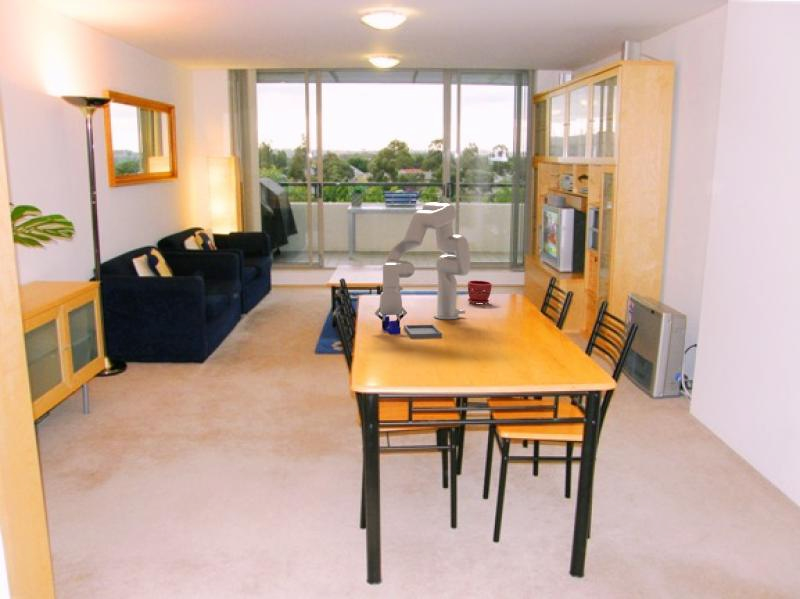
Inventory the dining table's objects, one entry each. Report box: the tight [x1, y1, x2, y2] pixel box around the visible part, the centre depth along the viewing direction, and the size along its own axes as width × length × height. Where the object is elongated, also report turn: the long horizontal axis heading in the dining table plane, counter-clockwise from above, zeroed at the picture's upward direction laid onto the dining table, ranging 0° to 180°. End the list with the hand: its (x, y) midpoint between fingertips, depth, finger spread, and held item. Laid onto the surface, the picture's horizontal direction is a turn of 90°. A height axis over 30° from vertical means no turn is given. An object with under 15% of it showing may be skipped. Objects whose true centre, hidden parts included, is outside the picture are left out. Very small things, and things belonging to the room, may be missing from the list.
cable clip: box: [381, 315, 402, 336], centre depth 329 cm, size 12×4×6 cm, turn 21°
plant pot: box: [467, 280, 492, 304], centre depth 402 cm, size 13×13×12 cm
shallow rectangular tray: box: [403, 324, 443, 339], centre depth 327 cm, size 14×18×2 cm
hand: (390, 328), depth 330 cm, fingers closed on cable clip, 5 cm apart
